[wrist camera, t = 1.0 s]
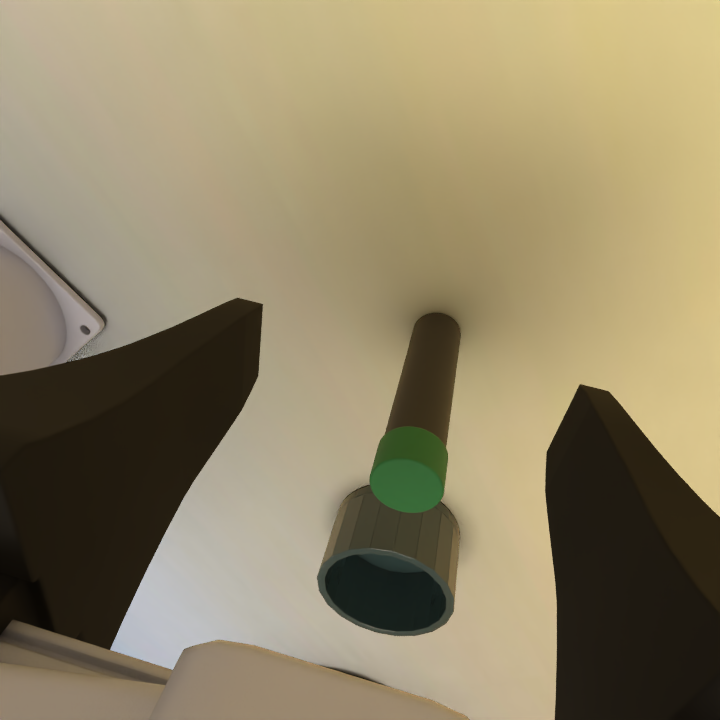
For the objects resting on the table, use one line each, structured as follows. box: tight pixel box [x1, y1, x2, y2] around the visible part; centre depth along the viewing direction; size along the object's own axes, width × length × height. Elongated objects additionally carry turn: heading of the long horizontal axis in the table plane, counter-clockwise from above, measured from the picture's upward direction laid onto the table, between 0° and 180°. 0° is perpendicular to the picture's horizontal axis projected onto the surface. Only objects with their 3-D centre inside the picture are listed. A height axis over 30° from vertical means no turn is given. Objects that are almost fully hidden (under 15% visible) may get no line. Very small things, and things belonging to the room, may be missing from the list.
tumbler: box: [317, 486, 460, 636], centre depth 29 cm, size 7×7×4 cm
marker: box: [370, 313, 461, 513], centre depth 20 cm, size 2×2×9 cm
